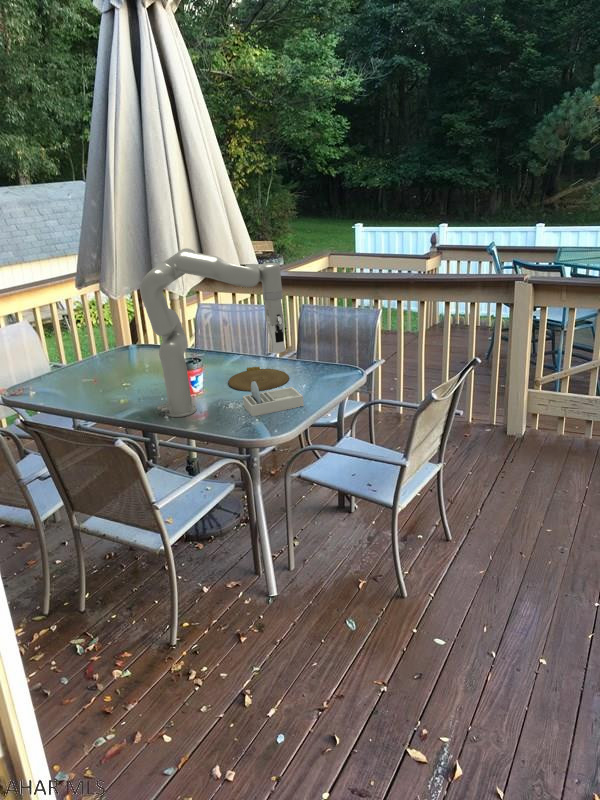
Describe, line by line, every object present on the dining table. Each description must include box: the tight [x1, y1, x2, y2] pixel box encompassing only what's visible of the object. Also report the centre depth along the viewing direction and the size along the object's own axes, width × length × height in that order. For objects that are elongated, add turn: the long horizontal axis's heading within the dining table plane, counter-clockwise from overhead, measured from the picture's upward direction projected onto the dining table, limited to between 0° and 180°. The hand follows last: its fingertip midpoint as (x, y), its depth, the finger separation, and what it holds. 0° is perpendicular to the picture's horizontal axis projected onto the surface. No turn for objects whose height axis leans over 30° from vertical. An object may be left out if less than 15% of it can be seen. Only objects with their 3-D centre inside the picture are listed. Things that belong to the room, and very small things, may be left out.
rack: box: [242, 381, 305, 417], centre depth 256 cm, size 22×13×12 cm, turn 110°
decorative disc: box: [227, 366, 290, 393], centre depth 291 cm, size 29×3×30 cm
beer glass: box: [266, 315, 286, 354], centre depth 248 cm, size 7×7×15 cm
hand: (277, 339), depth 249 cm, fingers closed on beer glass, 6 cm apart
